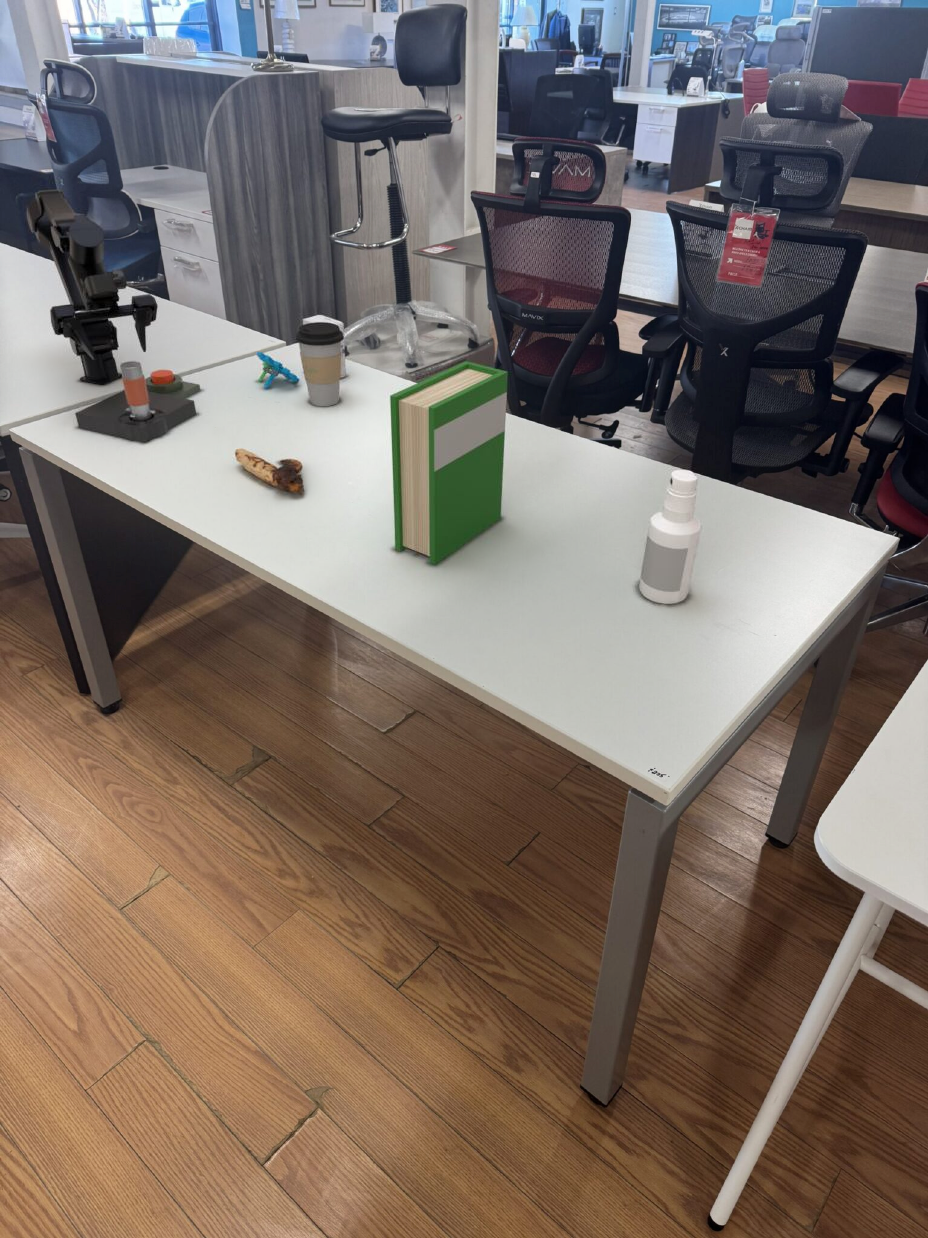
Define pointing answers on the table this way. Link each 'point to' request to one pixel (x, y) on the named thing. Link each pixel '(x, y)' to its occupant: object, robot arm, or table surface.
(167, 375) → the release button
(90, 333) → the robot arm
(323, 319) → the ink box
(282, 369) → the blue toy gun
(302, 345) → the coffee cup
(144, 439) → the grinder base
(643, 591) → the spray bottle
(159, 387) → the button block
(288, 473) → the lashed bone hook
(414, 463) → the hardback book
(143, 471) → the table surface
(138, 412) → the silver-capped orange cylinder
